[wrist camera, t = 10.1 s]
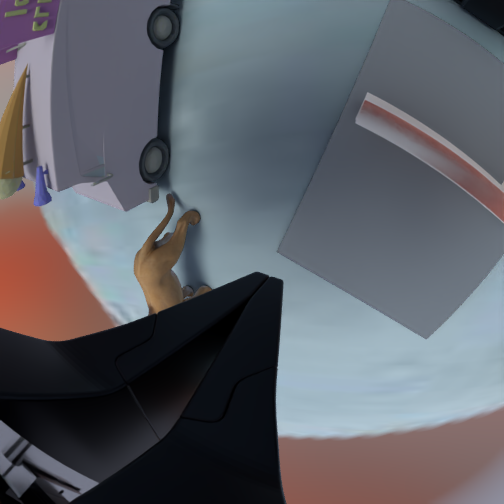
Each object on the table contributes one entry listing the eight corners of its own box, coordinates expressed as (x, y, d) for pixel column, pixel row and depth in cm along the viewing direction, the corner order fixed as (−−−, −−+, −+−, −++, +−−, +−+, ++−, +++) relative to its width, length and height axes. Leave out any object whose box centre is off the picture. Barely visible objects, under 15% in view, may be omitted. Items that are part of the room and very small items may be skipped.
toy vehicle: (113, 176, 26) (-9, 239, 15) (122, 0, 16) (-20, 3, 4) (178, 194, 24) (30, 286, 12) (199, -21, 13) (24, -60, 1)
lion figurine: (234, 325, 29) (187, 388, 22) (194, 317, 31) (147, 372, 24) (194, 188, 23) (113, 233, 16) (152, 195, 25) (76, 235, 18)
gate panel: (497, 188, 12) (524, 211, 8) (488, 204, 13) (512, 231, 9) (368, 102, 14) (365, 98, 10) (360, 120, 14) (354, 122, 11)
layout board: (392, -4, 9) (392, -6, 9) (565, 131, 7) (568, 132, 7) (277, 250, 22) (276, 252, 22) (426, 337, 20) (426, 339, 19)
